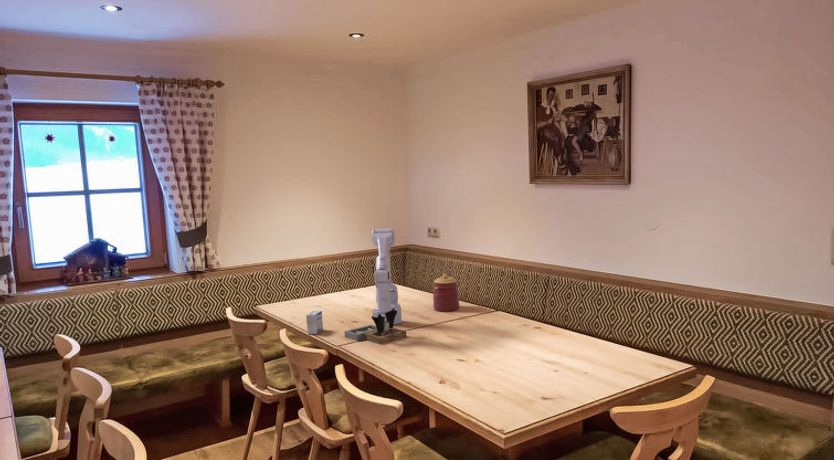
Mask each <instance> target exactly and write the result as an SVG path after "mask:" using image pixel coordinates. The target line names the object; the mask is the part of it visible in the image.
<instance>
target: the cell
mask: <svg viewBox="0 0 834 460" xmlns="http://www.w3.org/2000/svg"><path fill="white" fill-rule="evenodd" d="M388 334H390V330H389V321H384V325H383V333H381V336H384V335H388Z"/></svg>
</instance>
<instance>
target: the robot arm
mask: <svg viewBox="0 0 834 460" xmlns="http://www.w3.org/2000/svg"><path fill="white" fill-rule="evenodd" d="M395 236H396V234H395V228H393V227H391V228H389V227H388V228H373V229H372V230H371V237H372V243H373V245H374V246H375V247H376V248H378V249H377V250H378V256H376V258H375V271H374V273H373V274H374V277H373V278H374V282H375V301H376V306H377V307H376V308H375V310H374V311H372V315H371V319H372V320H373V323H374V326H376V328H377V331H378V333H383V325H384V321H389V328H393V327H394V325H398V324H401V323H403V322H404V321H403V319H402V318H403V317H402V307H401V304H400V303H398V302H399V294H398V293H399V292H398V286H397V285H396V284H395V283H393V282H392V274H391V257H390V256H391V255H390V253H391V252H390V251H391V247H393V246H395V243H396V240H395V239H396V237H395Z"/></svg>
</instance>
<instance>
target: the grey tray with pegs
mask: <svg viewBox="0 0 834 460" xmlns="http://www.w3.org/2000/svg"><path fill="white" fill-rule="evenodd" d="M374 331H377V328H376V325H375V324H367V325H363V326H360V327H356V328H352V329H348V330H347V329H346V330H345V331H344V337H345V338H348V339H351V340H354V341H357V342H358V341H362V340H365V334H367V333H370V332H374Z"/></svg>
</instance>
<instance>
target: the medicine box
mask: <svg viewBox="0 0 834 460" xmlns="http://www.w3.org/2000/svg"><path fill="white" fill-rule="evenodd" d="M305 318H306V319H305V320H306V330H307V334H308V335H318V334H319V333H320V332H321V331H323V330H324V324H323V322H324V321H323V311H322V310H313V311H311V312H310V313H307V314H306V315H305Z"/></svg>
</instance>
